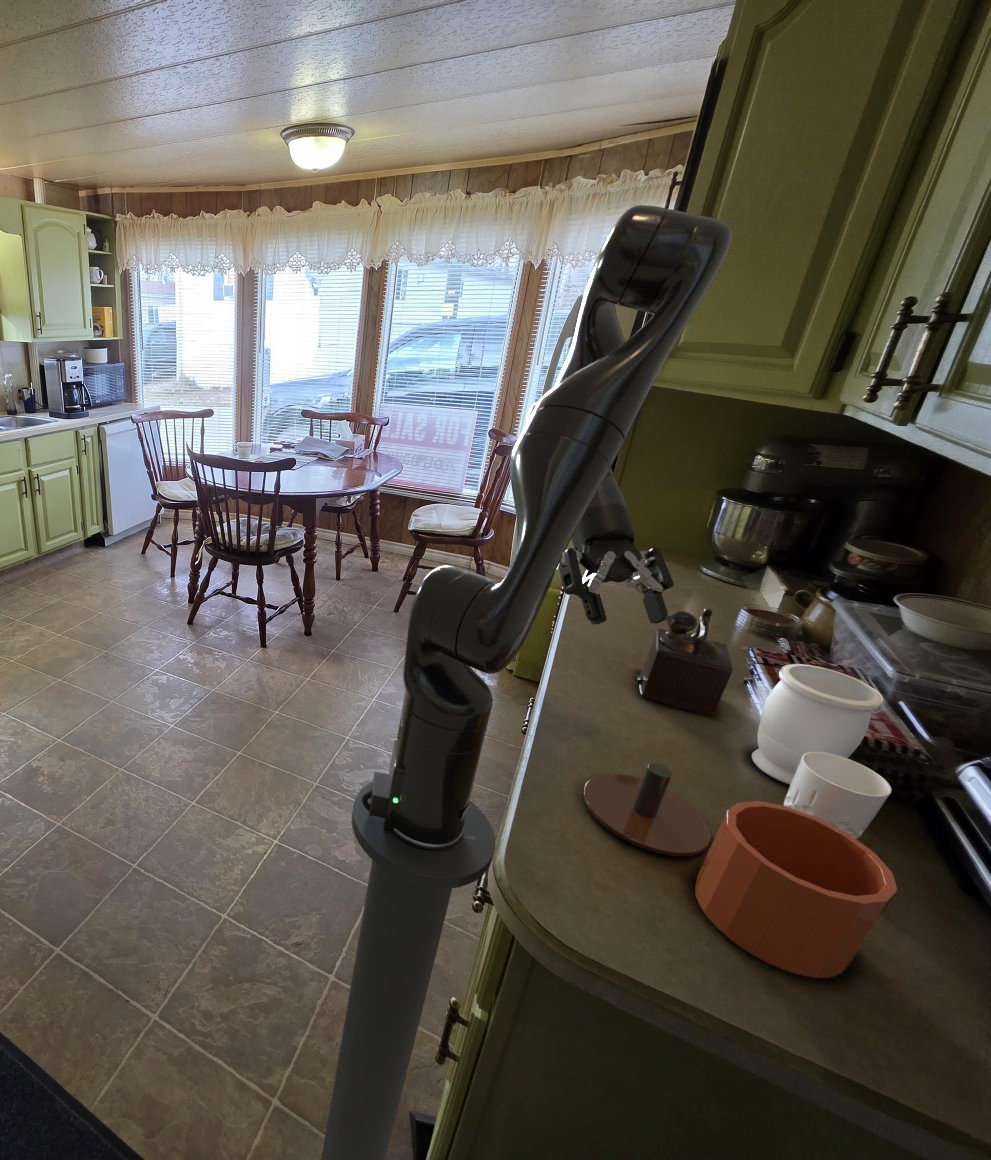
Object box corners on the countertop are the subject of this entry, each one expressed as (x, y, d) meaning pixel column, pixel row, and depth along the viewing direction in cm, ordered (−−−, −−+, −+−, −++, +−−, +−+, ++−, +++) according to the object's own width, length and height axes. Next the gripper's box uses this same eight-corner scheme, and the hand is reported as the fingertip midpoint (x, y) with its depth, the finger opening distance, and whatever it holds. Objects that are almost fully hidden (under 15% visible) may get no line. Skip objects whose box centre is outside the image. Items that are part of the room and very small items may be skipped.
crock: (726, 957, 62) (765, 882, 58) (676, 859, 73) (705, 790, 69) (880, 994, 59) (933, 918, 55) (803, 886, 70) (842, 816, 66)
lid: (598, 844, 75) (615, 795, 72) (570, 771, 87) (584, 727, 84) (728, 872, 72) (752, 822, 69) (681, 792, 84) (699, 747, 81)
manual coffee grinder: (636, 670, 114) (666, 582, 107) (709, 689, 108) (746, 597, 101) (634, 710, 102) (669, 613, 95) (717, 734, 96) (759, 633, 89)
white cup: (857, 837, 77) (893, 775, 73) (851, 871, 72) (890, 806, 68) (776, 803, 82) (806, 743, 78) (766, 832, 77) (797, 770, 74)
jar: (840, 807, 82) (891, 714, 76) (743, 774, 88) (784, 685, 82) (829, 766, 90) (875, 679, 84) (741, 738, 96) (778, 655, 90)
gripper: (564, 501, 83) (598, 614, 77) (661, 501, 84) (701, 612, 78) (533, 526, 90) (562, 631, 84) (623, 525, 91) (657, 629, 85)
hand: (629, 622), depth 81 cm, fingers open, 8 cm apart
